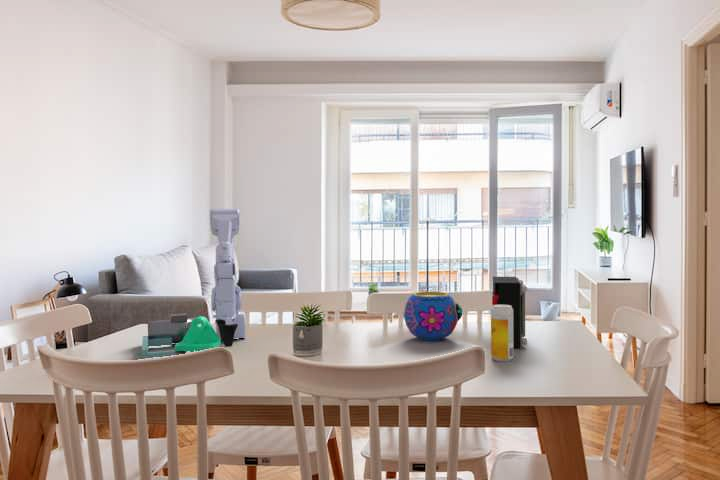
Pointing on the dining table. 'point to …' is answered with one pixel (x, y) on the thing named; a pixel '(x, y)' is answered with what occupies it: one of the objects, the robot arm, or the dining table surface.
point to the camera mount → (199, 337)
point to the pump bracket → (155, 342)
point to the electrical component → (512, 304)
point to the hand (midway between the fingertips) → (226, 344)
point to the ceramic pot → (431, 315)
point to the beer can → (502, 332)
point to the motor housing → (170, 328)
